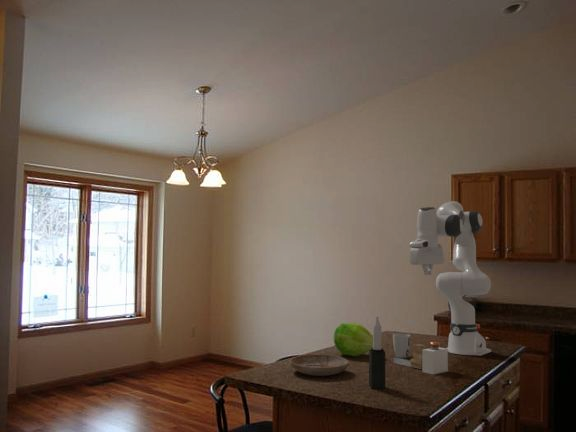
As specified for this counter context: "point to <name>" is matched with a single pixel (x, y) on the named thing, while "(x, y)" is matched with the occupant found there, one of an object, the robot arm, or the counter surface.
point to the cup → (401, 344)
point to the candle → (377, 360)
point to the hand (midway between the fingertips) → (427, 274)
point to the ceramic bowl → (319, 364)
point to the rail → (402, 362)
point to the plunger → (434, 345)
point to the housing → (434, 360)
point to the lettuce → (353, 339)
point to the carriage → (417, 356)
